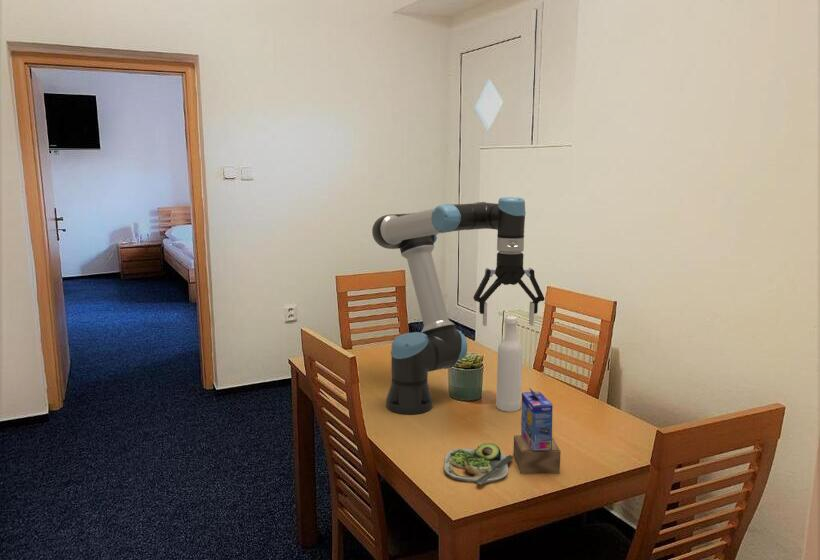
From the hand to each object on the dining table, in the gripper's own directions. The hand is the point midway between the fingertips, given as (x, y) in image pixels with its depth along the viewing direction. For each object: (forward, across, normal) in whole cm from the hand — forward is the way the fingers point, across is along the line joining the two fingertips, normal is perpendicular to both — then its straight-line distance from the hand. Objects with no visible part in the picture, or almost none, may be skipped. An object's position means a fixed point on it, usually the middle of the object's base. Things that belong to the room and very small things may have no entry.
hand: (507, 324), depth 187 cm
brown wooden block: (+32, +4, -24) cm, 40 cm away
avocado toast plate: (+32, -12, -25) cm, 42 cm away
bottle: (+32, +4, +16) cm, 36 cm away
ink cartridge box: (+26, +4, -24) cm, 35 cm away
